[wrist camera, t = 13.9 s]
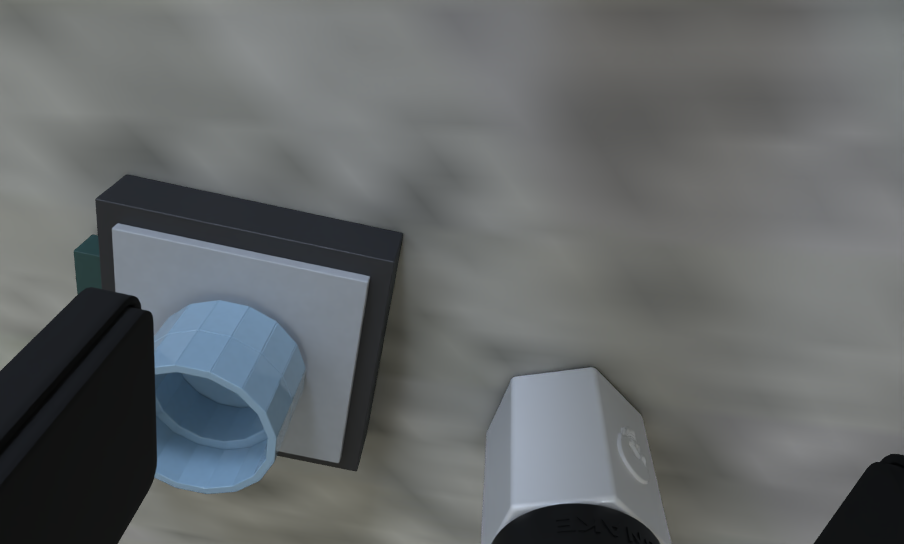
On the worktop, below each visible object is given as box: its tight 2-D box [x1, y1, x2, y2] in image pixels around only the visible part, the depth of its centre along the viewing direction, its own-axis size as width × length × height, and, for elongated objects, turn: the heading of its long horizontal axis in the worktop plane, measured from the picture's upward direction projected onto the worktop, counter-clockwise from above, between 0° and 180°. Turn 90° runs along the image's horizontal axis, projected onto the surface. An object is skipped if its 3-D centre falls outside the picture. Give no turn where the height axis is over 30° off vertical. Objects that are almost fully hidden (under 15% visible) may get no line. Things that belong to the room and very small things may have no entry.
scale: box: [74, 175, 403, 471], centre depth 37 cm, size 14×16×4 cm
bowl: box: [154, 300, 306, 494], centre depth 33 cm, size 7×7×6 cm
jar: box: [481, 367, 672, 544], centre depth 35 cm, size 9×8×12 cm
